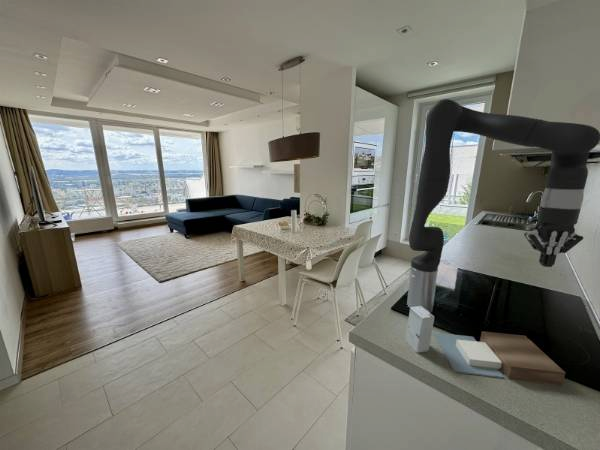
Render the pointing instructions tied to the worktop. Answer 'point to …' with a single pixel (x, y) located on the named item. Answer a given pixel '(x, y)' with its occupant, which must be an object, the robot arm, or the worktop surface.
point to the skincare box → (419, 328)
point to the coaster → (478, 354)
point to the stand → (523, 359)
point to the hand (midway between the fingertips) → (545, 265)
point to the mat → (457, 359)
